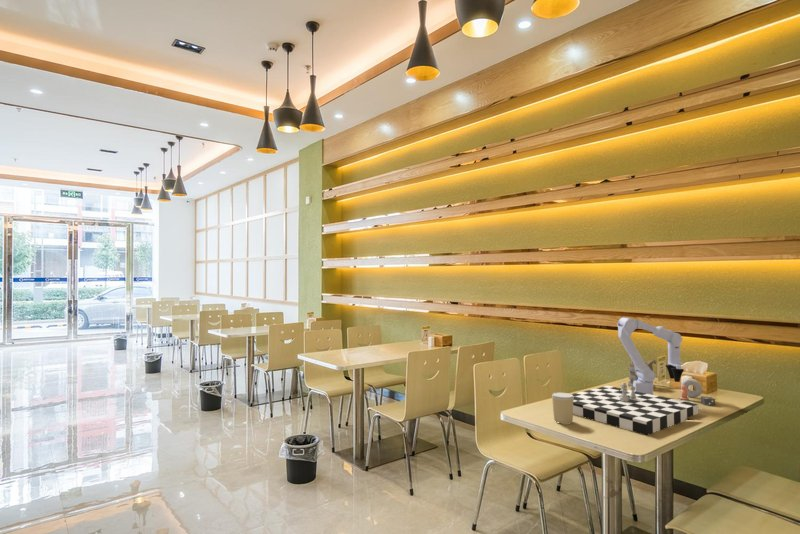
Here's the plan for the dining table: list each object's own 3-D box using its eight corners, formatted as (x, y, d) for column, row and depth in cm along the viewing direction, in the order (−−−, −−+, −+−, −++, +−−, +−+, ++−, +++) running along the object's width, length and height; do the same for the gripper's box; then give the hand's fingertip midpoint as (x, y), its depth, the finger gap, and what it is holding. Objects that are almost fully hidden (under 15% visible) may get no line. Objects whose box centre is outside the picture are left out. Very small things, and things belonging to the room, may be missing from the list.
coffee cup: (578, 422, 202) (578, 395, 202) (564, 426, 197) (564, 398, 197) (562, 417, 210) (561, 391, 210) (547, 420, 205) (547, 393, 205)
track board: (689, 411, 218) (689, 408, 218) (674, 399, 238) (674, 397, 238) (706, 412, 216) (706, 409, 216) (689, 400, 236) (689, 398, 236)
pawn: (681, 400, 233) (681, 385, 233) (679, 398, 236) (679, 384, 237) (689, 400, 232) (689, 385, 232) (687, 398, 236) (686, 384, 236)
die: (704, 407, 223) (704, 398, 223) (700, 405, 228) (700, 396, 228) (715, 408, 222) (714, 399, 222) (711, 405, 227) (710, 396, 227)
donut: (703, 398, 240) (703, 379, 240) (701, 399, 238) (701, 380, 238) (682, 395, 248) (682, 376, 248) (680, 396, 245) (680, 377, 246)
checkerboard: (646, 436, 185) (646, 400, 186) (555, 410, 223) (554, 380, 223) (698, 417, 210) (697, 385, 210) (608, 396, 248) (607, 369, 248)
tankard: (640, 389, 260) (640, 363, 260) (623, 384, 272) (622, 359, 272) (666, 386, 266) (666, 361, 267) (648, 382, 278) (648, 357, 279)
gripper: (687, 357, 235) (688, 383, 234) (677, 352, 249) (678, 377, 248) (672, 356, 236) (672, 382, 236) (663, 352, 250) (664, 376, 250)
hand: (674, 380), depth 242 cm, fingers open, 7 cm apart
